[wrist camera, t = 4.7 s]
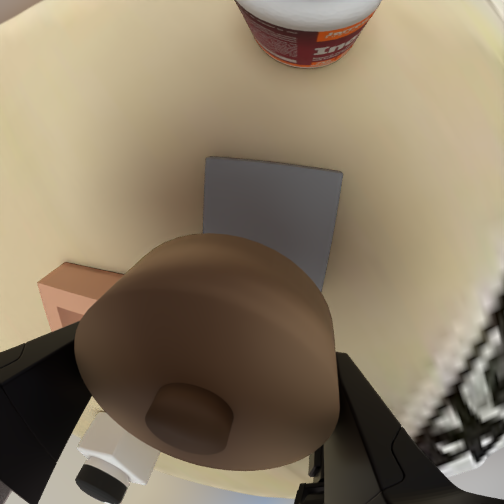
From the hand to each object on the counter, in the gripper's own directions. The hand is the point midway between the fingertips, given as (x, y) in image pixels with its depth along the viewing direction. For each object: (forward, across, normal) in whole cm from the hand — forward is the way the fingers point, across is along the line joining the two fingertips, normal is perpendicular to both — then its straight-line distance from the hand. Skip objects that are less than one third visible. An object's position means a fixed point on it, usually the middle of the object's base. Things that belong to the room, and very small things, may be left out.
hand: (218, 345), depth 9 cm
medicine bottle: (+12, +15, +30) cm, 35 cm away
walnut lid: (0, 0, 0) cm, 0 cm away
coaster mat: (+11, 0, 0) cm, 11 cm away
